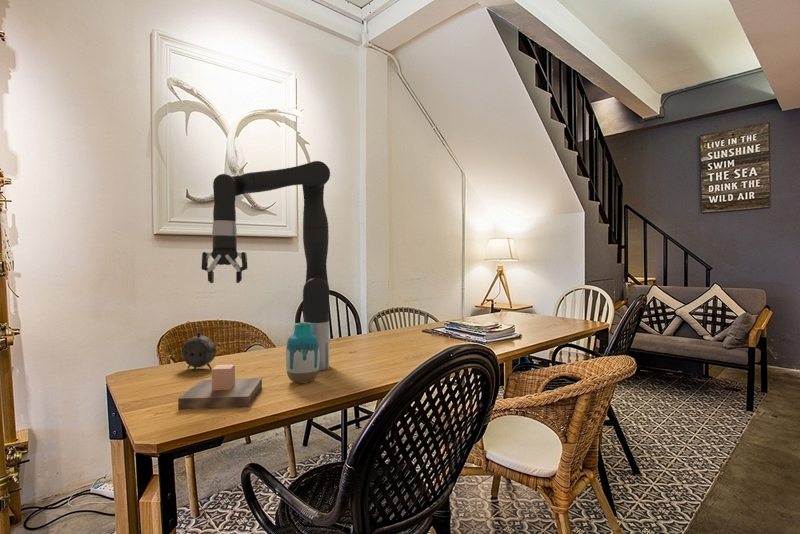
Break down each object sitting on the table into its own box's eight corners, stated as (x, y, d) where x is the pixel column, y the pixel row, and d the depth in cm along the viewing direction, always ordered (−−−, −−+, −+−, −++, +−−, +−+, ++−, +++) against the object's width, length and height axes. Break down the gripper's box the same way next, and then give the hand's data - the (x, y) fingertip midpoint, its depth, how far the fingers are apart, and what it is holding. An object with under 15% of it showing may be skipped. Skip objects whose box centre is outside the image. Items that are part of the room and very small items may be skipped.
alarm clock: (216, 368, 158) (216, 323, 158) (208, 372, 153) (208, 326, 153) (188, 367, 159) (188, 323, 159) (179, 371, 154) (179, 325, 154)
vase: (308, 376, 148) (308, 320, 148) (325, 382, 141) (326, 323, 141) (279, 382, 141) (280, 323, 141) (297, 389, 133) (297, 327, 133)
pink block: (234, 384, 127) (234, 364, 127) (230, 389, 122) (230, 368, 122) (217, 385, 127) (217, 364, 127) (211, 390, 122) (211, 369, 122)
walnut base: (261, 387, 135) (261, 378, 134) (248, 407, 117) (248, 396, 117) (201, 389, 132) (201, 379, 132) (178, 409, 114) (178, 398, 114)
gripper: (248, 235, 151) (249, 282, 151) (205, 235, 149) (206, 282, 149) (244, 234, 143) (244, 283, 144) (198, 234, 141) (199, 283, 142)
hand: (224, 282), depth 146 cm, fingers open, 8 cm apart
